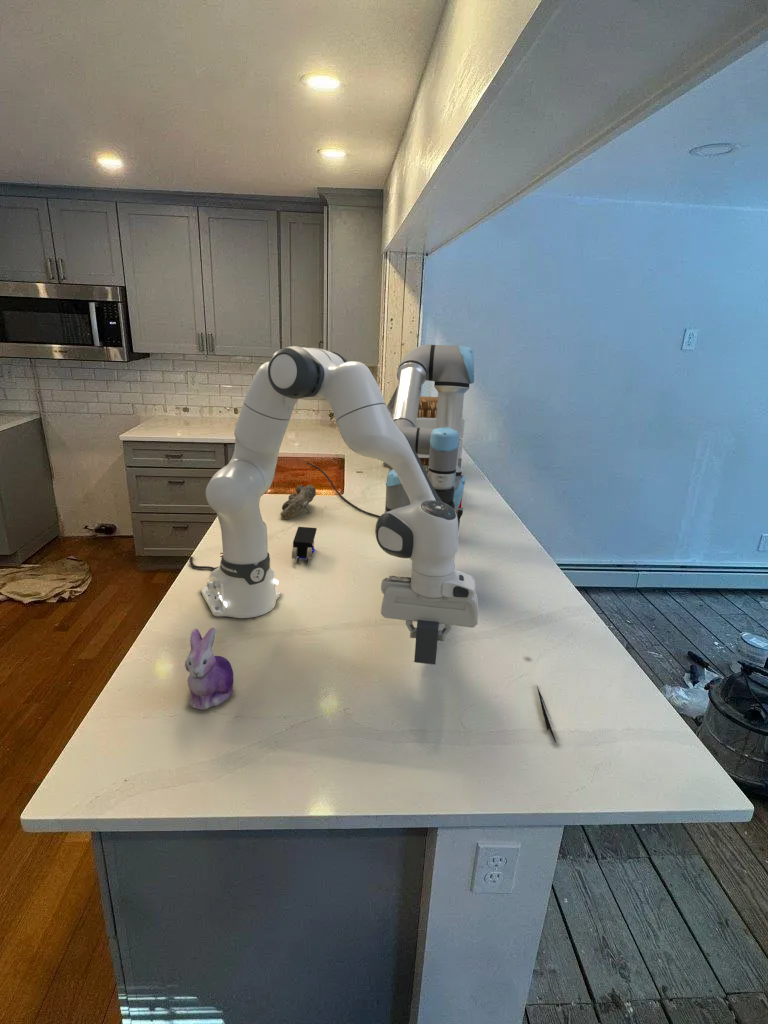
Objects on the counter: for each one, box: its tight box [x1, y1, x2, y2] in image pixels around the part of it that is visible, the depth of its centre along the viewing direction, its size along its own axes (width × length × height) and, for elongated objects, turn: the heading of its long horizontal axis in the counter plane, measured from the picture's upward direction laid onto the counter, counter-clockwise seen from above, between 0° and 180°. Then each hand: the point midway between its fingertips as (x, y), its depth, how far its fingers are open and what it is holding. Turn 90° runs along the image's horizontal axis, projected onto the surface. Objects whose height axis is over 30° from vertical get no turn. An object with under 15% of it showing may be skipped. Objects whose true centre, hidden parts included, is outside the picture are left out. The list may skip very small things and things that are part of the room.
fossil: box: [280, 484, 317, 520], centre depth 215 cm, size 22×10×15 cm
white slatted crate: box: [382, 385, 465, 472], centre depth 268 cm, size 34×33×41 cm
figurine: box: [184, 626, 234, 711], centre depth 111 cm, size 9×10×15 cm
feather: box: [527, 657, 557, 743], centre depth 118 cm, size 2×28×2 cm
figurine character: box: [291, 526, 318, 564], centre depth 177 cm, size 7×8×15 cm
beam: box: [413, 620, 440, 665], centre depth 141 cm, size 54×4×9 cm, turn 173°
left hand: (427, 638), depth 120 cm, fingers closed on beam, 4 cm apart
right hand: (434, 562), depth 164 cm, fingers closed on beam, 4 cm apart
